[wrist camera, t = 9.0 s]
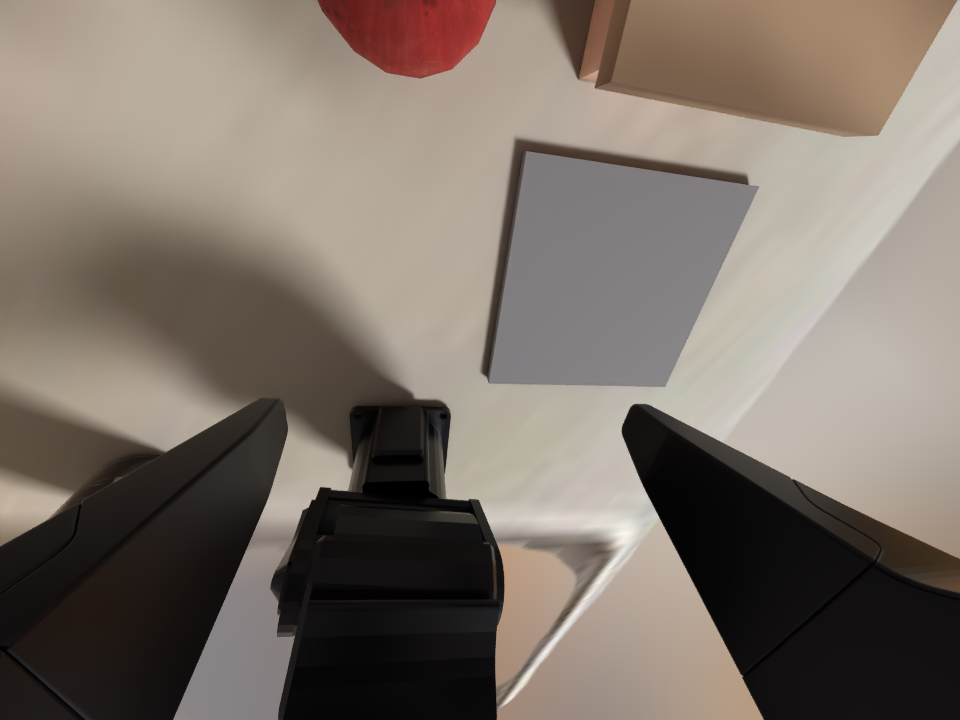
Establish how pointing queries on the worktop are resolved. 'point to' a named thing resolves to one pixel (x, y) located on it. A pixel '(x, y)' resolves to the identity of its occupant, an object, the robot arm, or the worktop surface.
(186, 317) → the worktop surface
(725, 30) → the walnut lid
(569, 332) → the rubber mat
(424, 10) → the onion
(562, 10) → the worktop surface
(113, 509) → the robot arm
